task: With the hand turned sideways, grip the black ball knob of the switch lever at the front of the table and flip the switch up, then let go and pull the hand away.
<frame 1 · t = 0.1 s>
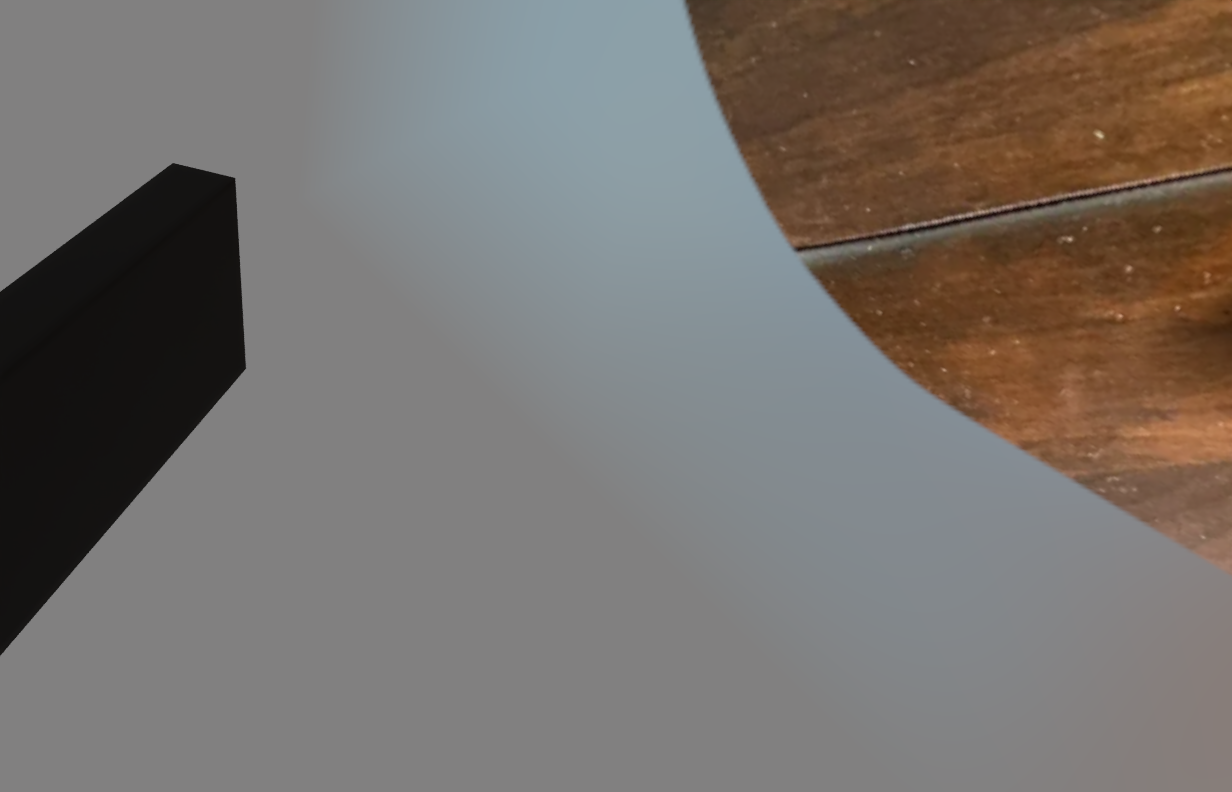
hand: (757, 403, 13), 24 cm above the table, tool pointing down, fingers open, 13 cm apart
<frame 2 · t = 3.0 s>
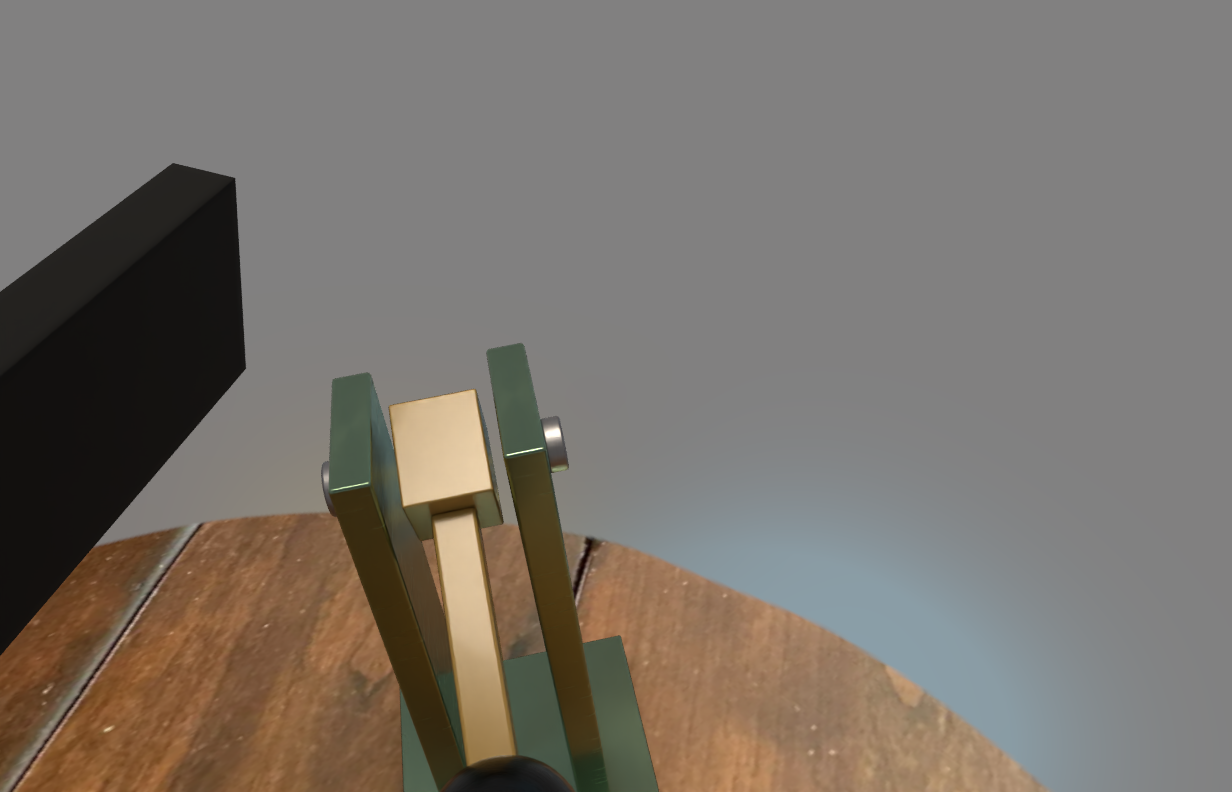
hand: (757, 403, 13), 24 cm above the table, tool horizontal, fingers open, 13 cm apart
switch lever: (475, 647, 25), point 12 cm above the table, hinge at -25.0°
switch bracket: (529, 775, 36), on the table
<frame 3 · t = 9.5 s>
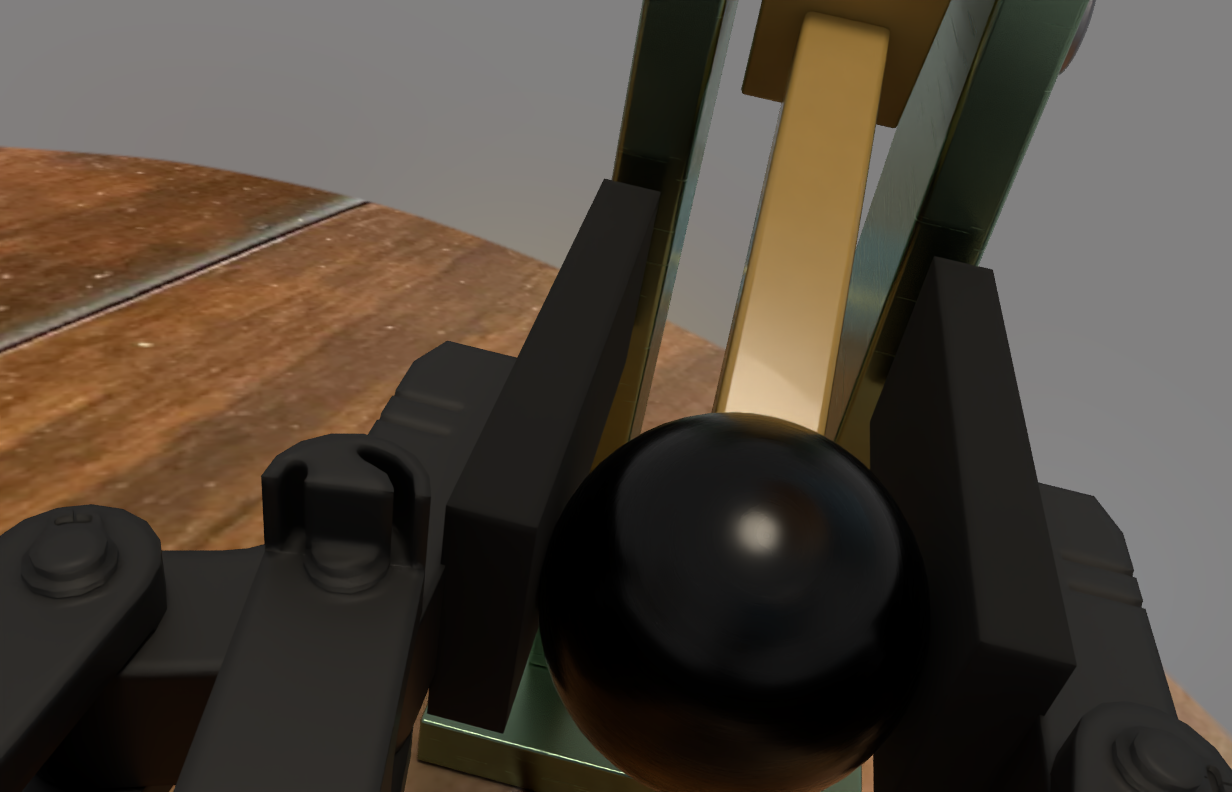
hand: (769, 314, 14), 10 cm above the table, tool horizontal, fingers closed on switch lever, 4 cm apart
switch lever: (800, 246, 12), point 12 cm above the table, hinge at -25.0°, touching gripper
switch bracket: (660, 650, 23), on the table
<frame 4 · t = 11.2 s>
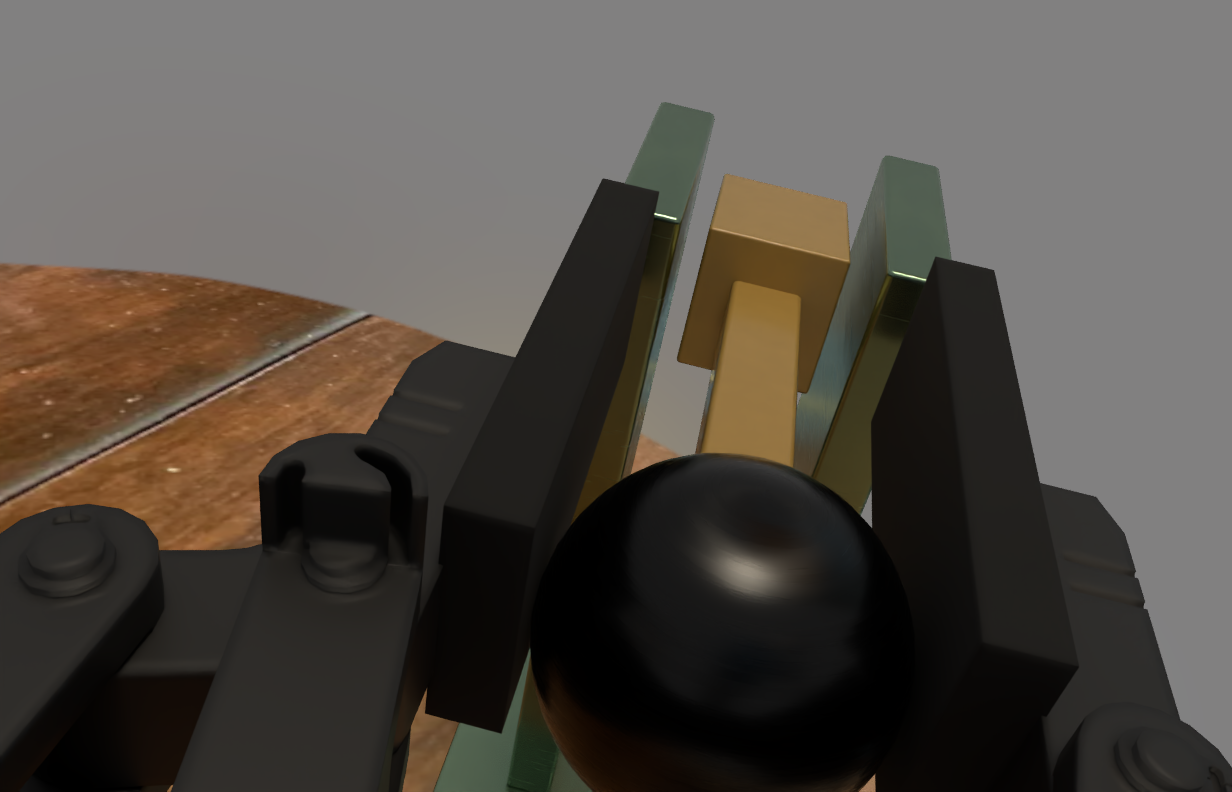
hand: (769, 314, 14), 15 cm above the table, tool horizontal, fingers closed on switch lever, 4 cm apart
switch lever: (747, 418, 14), point 15 cm above the table, hinge at 6.2°, touching gripper
switch bracket: (622, 764, 26), on the table
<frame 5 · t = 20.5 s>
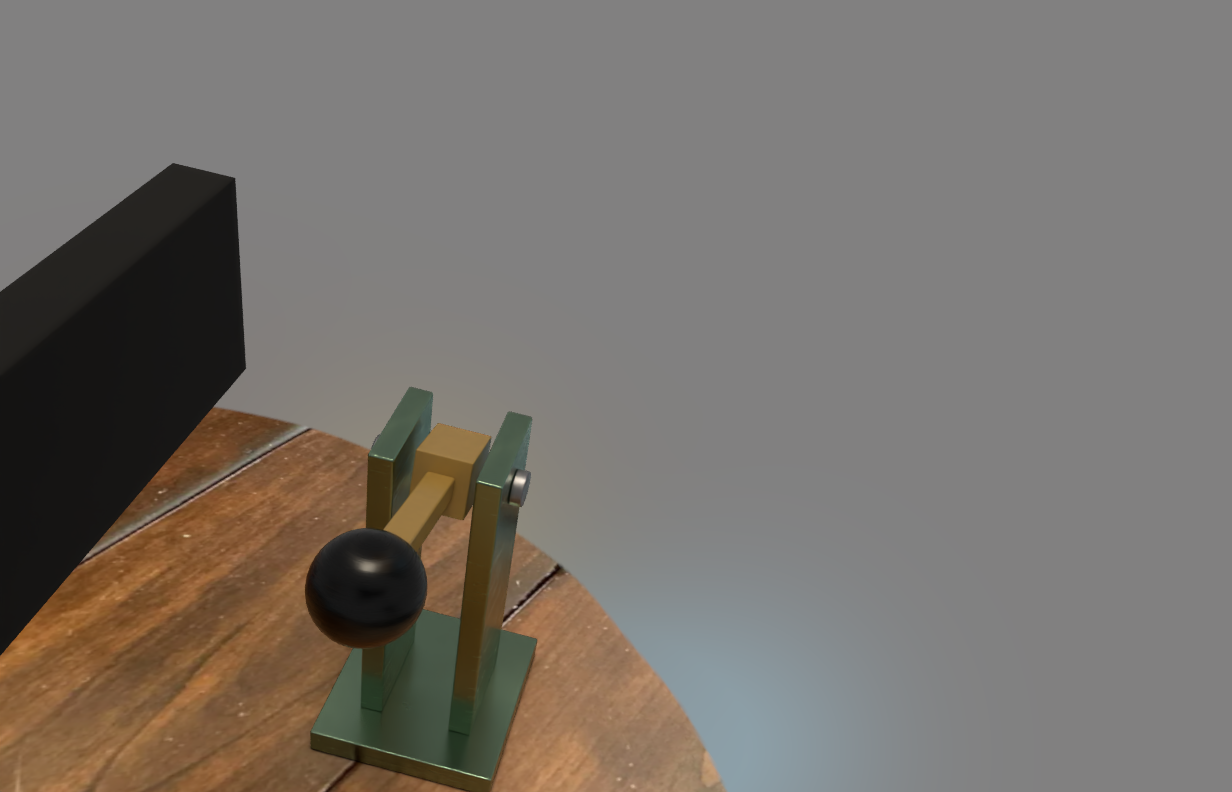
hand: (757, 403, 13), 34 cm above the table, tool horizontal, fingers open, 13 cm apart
switch lever: (411, 525, 36), point 15 cm above the table, hinge at 15.7°
switch bracket: (429, 698, 49), on the table
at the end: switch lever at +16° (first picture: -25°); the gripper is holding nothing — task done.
